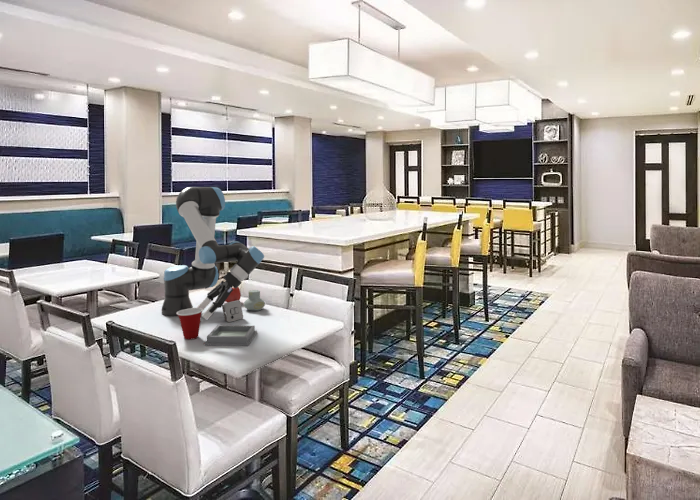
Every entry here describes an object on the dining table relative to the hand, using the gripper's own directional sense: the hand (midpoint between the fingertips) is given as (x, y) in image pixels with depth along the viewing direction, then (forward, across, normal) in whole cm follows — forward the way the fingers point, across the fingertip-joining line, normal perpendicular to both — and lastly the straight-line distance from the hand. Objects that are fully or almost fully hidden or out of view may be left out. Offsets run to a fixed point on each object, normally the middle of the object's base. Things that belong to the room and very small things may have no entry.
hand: (201, 313), depth 212 cm
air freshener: (-16, +36, -31) cm, 50 cm away
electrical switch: (-5, +22, -20) cm, 30 cm away
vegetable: (-10, +56, -25) cm, 62 cm away
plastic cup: (+11, +1, -4) cm, 11 cm away
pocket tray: (0, -8, -15) cm, 17 cm away
